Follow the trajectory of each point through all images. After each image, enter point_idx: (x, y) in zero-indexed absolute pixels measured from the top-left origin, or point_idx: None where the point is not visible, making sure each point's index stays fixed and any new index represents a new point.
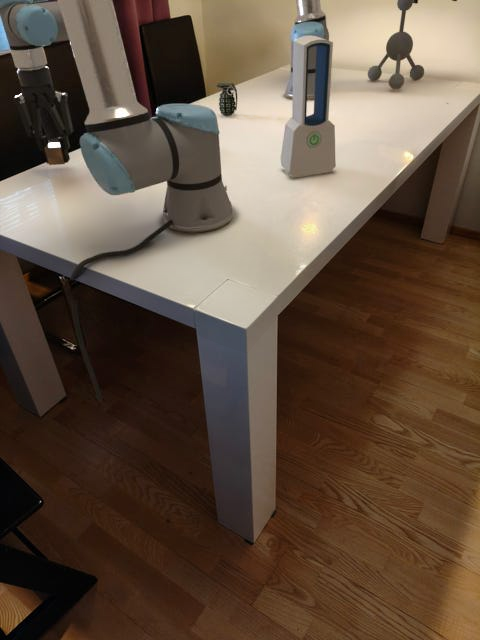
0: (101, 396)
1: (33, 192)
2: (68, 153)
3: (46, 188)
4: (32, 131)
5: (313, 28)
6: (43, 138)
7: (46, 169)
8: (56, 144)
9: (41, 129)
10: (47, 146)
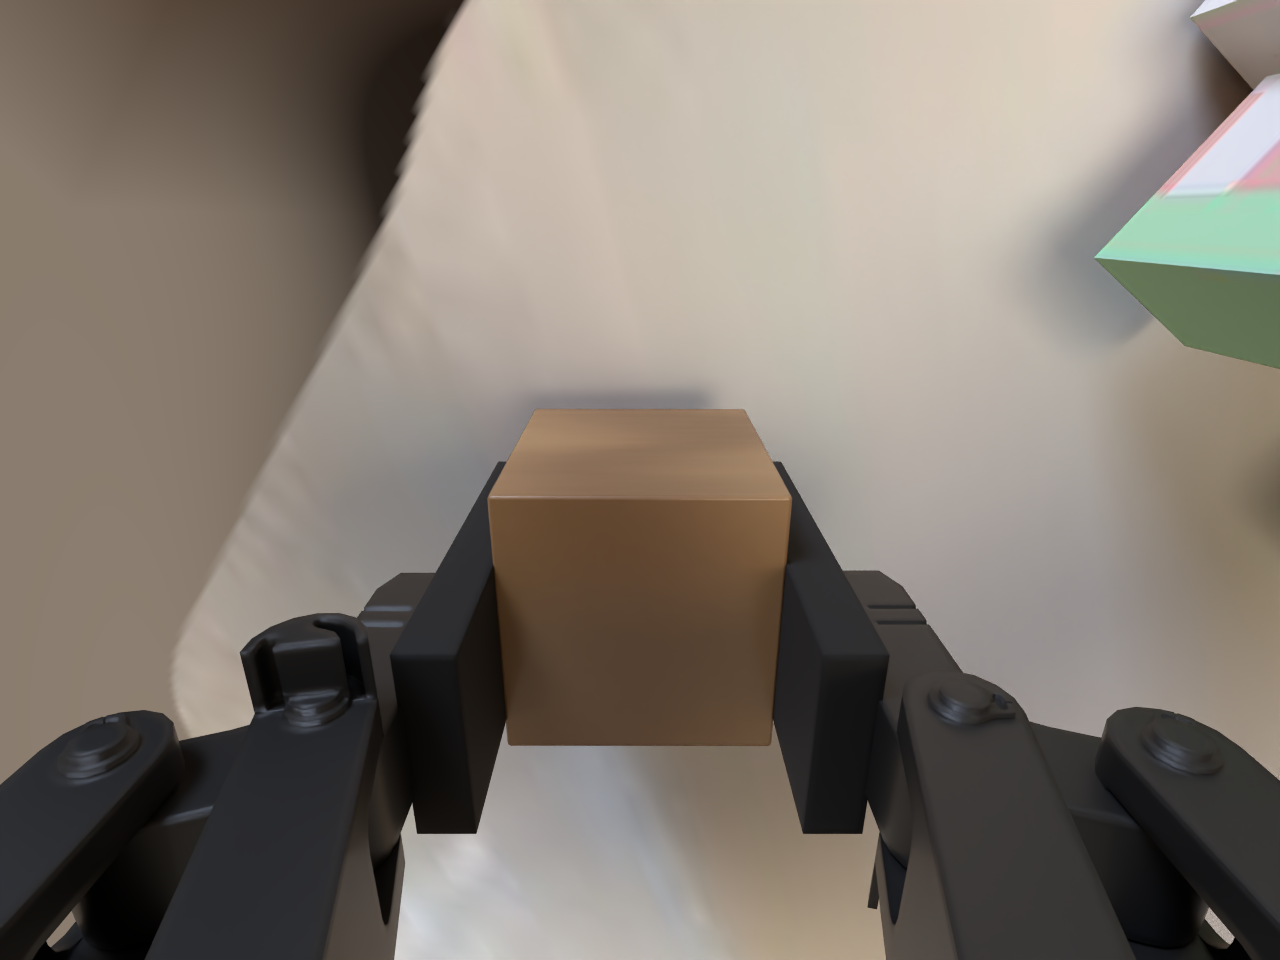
0: None
1: (540, 911)
2: (797, 491)
3: (624, 861)
4: (157, 877)
5: None
6: (471, 784)
7: (449, 424)
8: (674, 610)
9: (359, 807)
10: (536, 683)
